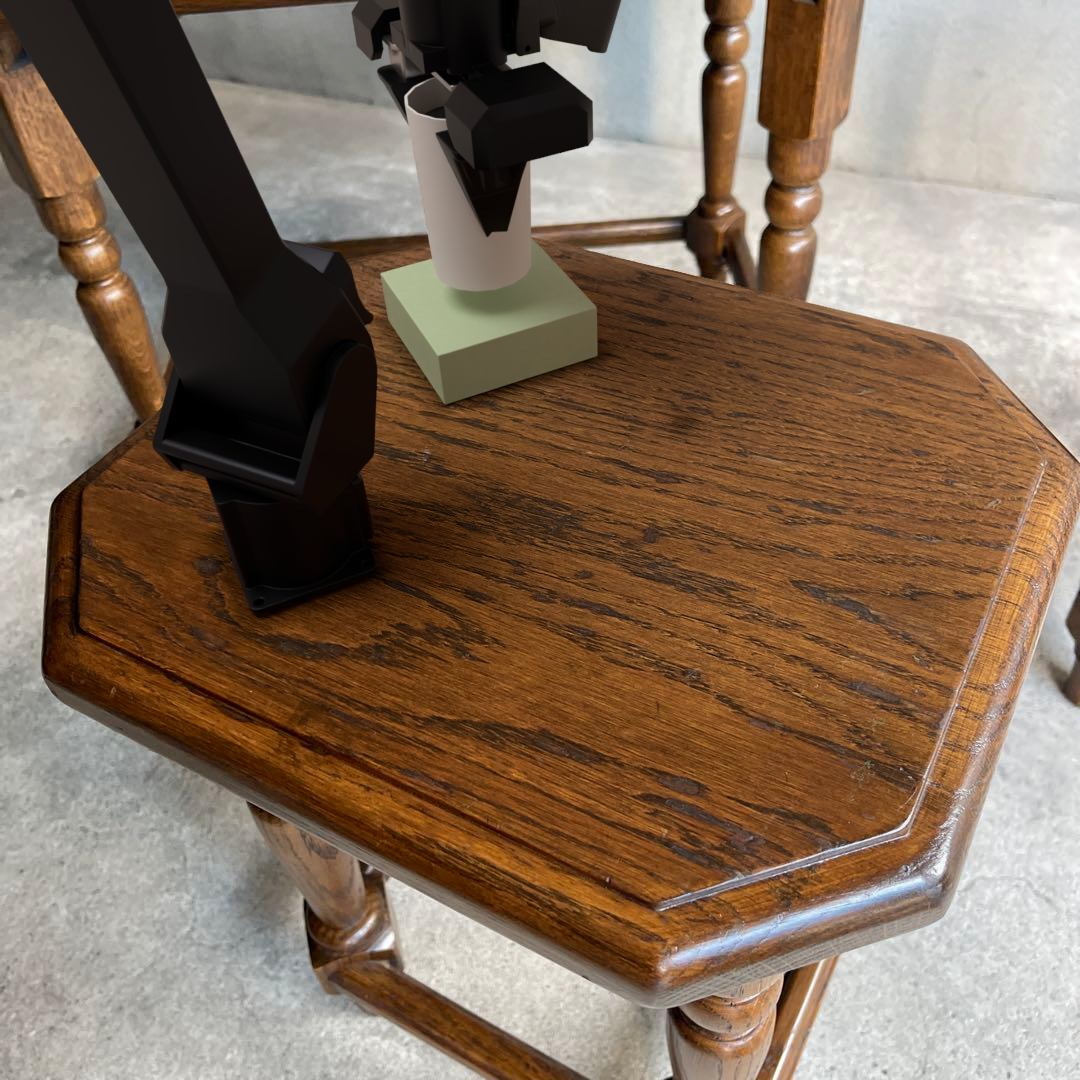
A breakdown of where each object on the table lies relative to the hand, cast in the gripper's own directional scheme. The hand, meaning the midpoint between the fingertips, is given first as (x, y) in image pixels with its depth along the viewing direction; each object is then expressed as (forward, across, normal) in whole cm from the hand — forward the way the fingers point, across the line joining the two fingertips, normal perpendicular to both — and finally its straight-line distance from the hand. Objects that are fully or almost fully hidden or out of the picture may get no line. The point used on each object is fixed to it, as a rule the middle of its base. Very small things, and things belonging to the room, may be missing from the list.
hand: (477, 217), depth 63 cm
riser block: (+8, 0, 0) cm, 8 cm away
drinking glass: (+3, 0, 0) cm, 3 cm away
